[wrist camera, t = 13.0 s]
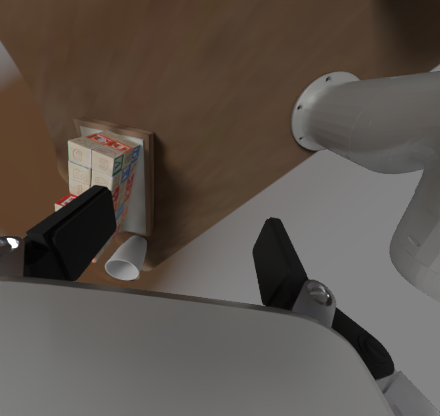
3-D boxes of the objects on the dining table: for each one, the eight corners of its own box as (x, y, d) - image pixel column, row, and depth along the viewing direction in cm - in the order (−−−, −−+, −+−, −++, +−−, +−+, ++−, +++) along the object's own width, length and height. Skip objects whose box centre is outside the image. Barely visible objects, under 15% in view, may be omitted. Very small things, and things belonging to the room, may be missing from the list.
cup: (123, 229, 48) (102, 257, 40) (152, 234, 49) (138, 262, 41) (125, 248, 52) (107, 277, 44) (152, 253, 53) (139, 282, 45)
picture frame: (154, 132, 34) (148, 135, 31) (153, 229, 48) (149, 237, 45) (85, 116, 33) (72, 118, 30) (105, 221, 47) (98, 229, 44)
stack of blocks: (106, 128, 31) (48, 144, 20) (141, 144, 32) (103, 166, 22) (98, 215, 41) (57, 254, 31) (125, 224, 43) (94, 264, 32)
